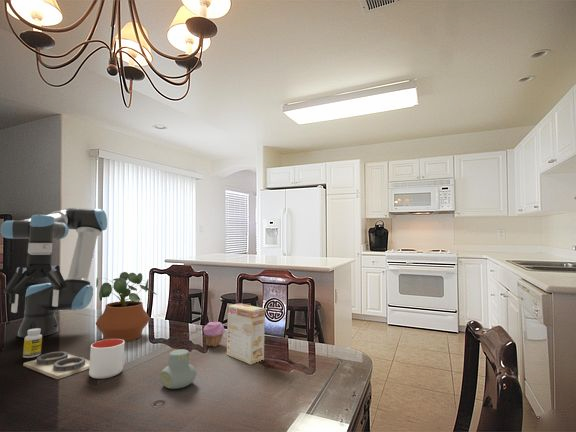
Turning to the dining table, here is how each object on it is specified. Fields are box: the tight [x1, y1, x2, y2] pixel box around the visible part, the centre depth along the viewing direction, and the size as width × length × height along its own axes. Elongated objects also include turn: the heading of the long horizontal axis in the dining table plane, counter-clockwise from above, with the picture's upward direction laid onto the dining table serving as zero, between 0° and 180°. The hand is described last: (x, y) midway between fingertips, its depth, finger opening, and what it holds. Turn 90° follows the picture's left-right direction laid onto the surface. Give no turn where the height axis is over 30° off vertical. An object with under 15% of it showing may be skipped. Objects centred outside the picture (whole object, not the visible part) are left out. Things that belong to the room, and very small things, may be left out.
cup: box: [88, 339, 126, 380], centre depth 108 cm, size 10×10×10 cm
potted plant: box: [95, 271, 157, 343], centre depth 151 cm, size 23×28×30 cm
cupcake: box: [202, 321, 225, 348], centre depth 139 cm, size 9×9×10 cm
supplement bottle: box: [22, 328, 43, 359], centre depth 123 cm, size 5×5×10 cm
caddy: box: [22, 351, 90, 380], centre depth 113 cm, size 13×22×2 cm, turn 62°
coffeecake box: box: [226, 302, 266, 365], centre depth 125 cm, size 15×7×20 cm, turn 47°
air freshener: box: [159, 348, 197, 390], centre depth 100 cm, size 11×8×10 cm
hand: (35, 309), depth 124 cm, fingers open, 13 cm apart
